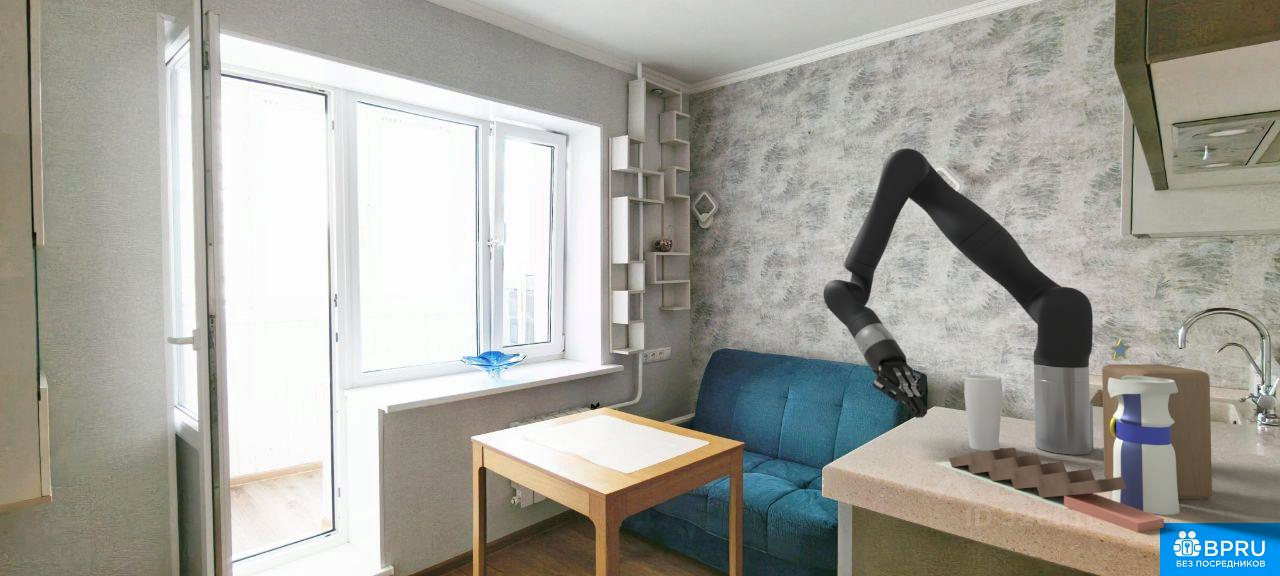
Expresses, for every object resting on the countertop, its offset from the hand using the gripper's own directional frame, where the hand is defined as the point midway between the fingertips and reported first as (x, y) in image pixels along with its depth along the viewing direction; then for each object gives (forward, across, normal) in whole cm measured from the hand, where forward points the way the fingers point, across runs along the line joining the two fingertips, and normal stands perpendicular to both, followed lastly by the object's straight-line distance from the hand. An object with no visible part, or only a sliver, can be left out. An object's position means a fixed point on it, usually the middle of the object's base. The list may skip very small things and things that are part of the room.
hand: (922, 415), depth 118 cm
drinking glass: (+7, +14, +5) cm, 16 cm away
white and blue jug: (+30, +9, -18) cm, 36 cm away
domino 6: (+26, 0, -17) cm, 31 cm away
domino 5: (+23, 0, -14) cm, 27 cm away
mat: (+19, 0, -8) cm, 20 cm away
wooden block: (+26, +19, -15) cm, 36 cm away
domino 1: (+11, 0, -2) cm, 11 cm away
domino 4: (+20, 0, -11) cm, 23 cm away
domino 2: (+14, 0, -5) cm, 15 cm away
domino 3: (+17, 0, -8) cm, 19 cm away
